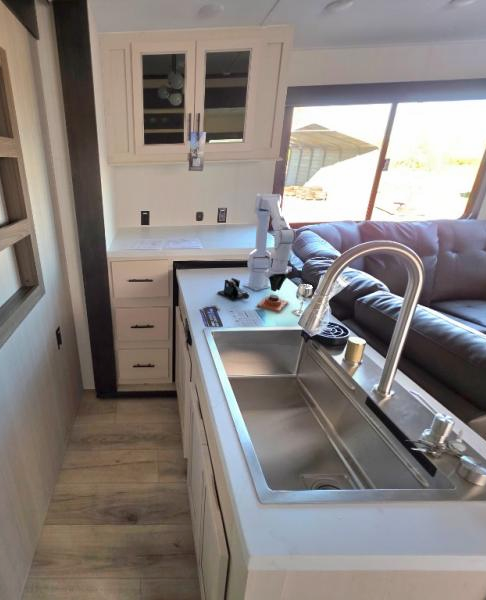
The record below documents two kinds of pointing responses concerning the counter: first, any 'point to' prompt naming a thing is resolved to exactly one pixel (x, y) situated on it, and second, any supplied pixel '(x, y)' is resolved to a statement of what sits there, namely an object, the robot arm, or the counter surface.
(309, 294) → the wineglass
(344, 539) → the counter surface
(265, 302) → the block
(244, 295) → the lever
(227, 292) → the bracket
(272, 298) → the button
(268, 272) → the robot arm
